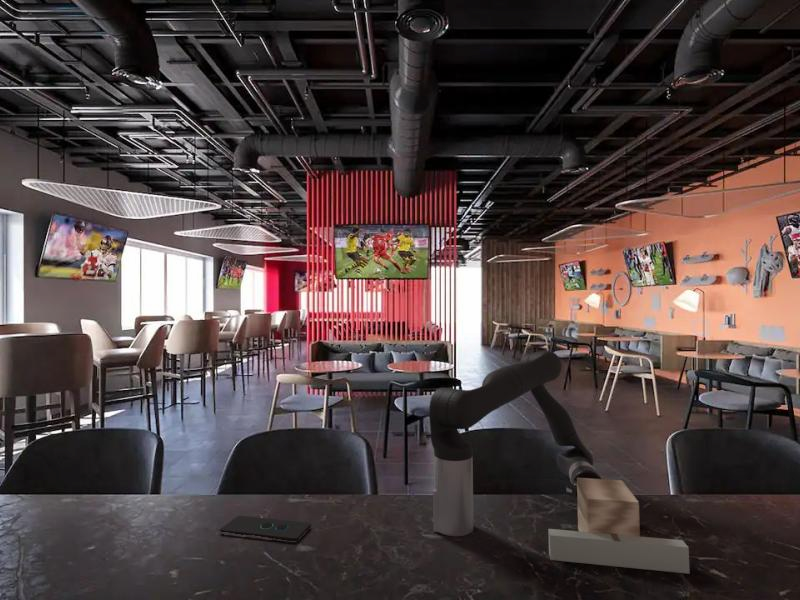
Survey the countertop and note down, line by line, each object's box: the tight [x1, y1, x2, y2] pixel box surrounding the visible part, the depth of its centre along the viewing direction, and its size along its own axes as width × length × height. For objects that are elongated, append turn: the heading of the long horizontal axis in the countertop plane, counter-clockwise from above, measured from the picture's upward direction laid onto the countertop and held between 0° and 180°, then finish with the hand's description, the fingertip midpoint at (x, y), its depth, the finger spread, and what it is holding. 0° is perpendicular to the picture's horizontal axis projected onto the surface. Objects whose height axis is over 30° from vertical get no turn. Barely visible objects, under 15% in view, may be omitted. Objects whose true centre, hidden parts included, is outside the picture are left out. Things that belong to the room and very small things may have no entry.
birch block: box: [576, 478, 641, 537], centre depth 100 cm, size 10×13×12 cm
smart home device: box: [219, 515, 312, 542], centre depth 107 cm, size 8×2×20 cm
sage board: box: [547, 528, 691, 574], centre depth 92 cm, size 26×3×5 cm, turn 78°
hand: (599, 504), depth 106 cm, fingers closed
